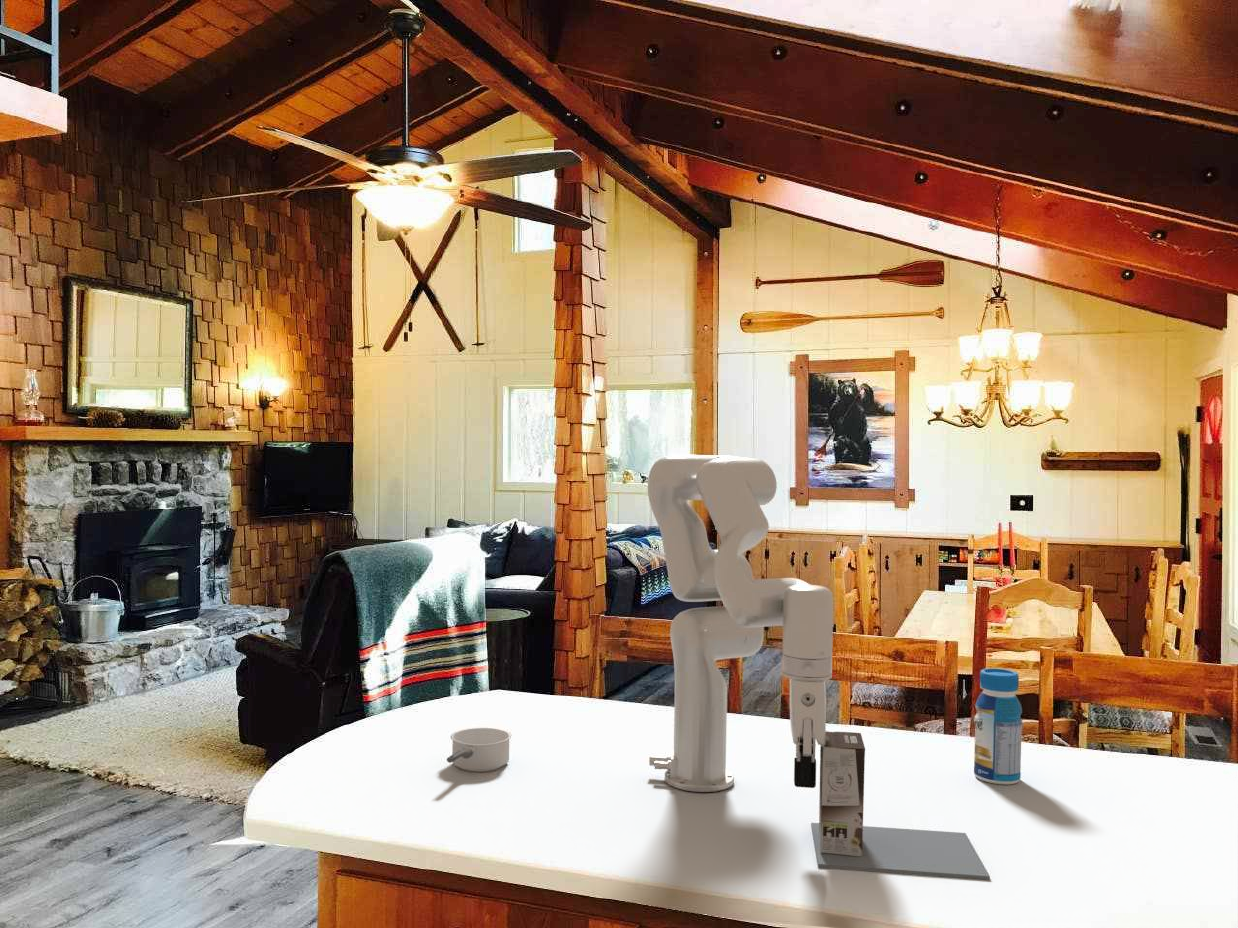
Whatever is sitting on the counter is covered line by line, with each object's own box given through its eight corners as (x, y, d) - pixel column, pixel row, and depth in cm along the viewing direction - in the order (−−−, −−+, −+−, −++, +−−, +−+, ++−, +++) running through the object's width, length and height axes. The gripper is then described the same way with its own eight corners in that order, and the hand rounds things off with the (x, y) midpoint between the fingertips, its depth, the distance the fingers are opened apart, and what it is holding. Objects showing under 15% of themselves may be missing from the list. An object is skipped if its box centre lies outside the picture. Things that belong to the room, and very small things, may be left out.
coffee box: (863, 857, 144) (865, 748, 144) (819, 853, 146) (821, 745, 145) (860, 834, 153) (862, 731, 153) (818, 830, 155) (820, 728, 154)
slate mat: (817, 867, 142) (818, 863, 142) (811, 825, 158) (811, 822, 158) (989, 879, 139) (989, 876, 139) (965, 835, 155) (965, 832, 155)
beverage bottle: (1016, 789, 177) (1019, 679, 177) (968, 780, 181) (970, 672, 181) (1025, 776, 184) (1027, 670, 184) (978, 767, 189) (980, 664, 188)
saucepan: (419, 786, 173) (419, 755, 173) (464, 753, 193) (465, 724, 193) (479, 793, 171) (480, 761, 170) (519, 758, 190) (520, 730, 190)
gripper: (835, 678, 142) (833, 804, 142) (828, 657, 157) (826, 771, 157) (783, 676, 143) (781, 800, 143) (780, 655, 158) (778, 768, 158)
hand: (804, 785), depth 150 cm, fingers closed
